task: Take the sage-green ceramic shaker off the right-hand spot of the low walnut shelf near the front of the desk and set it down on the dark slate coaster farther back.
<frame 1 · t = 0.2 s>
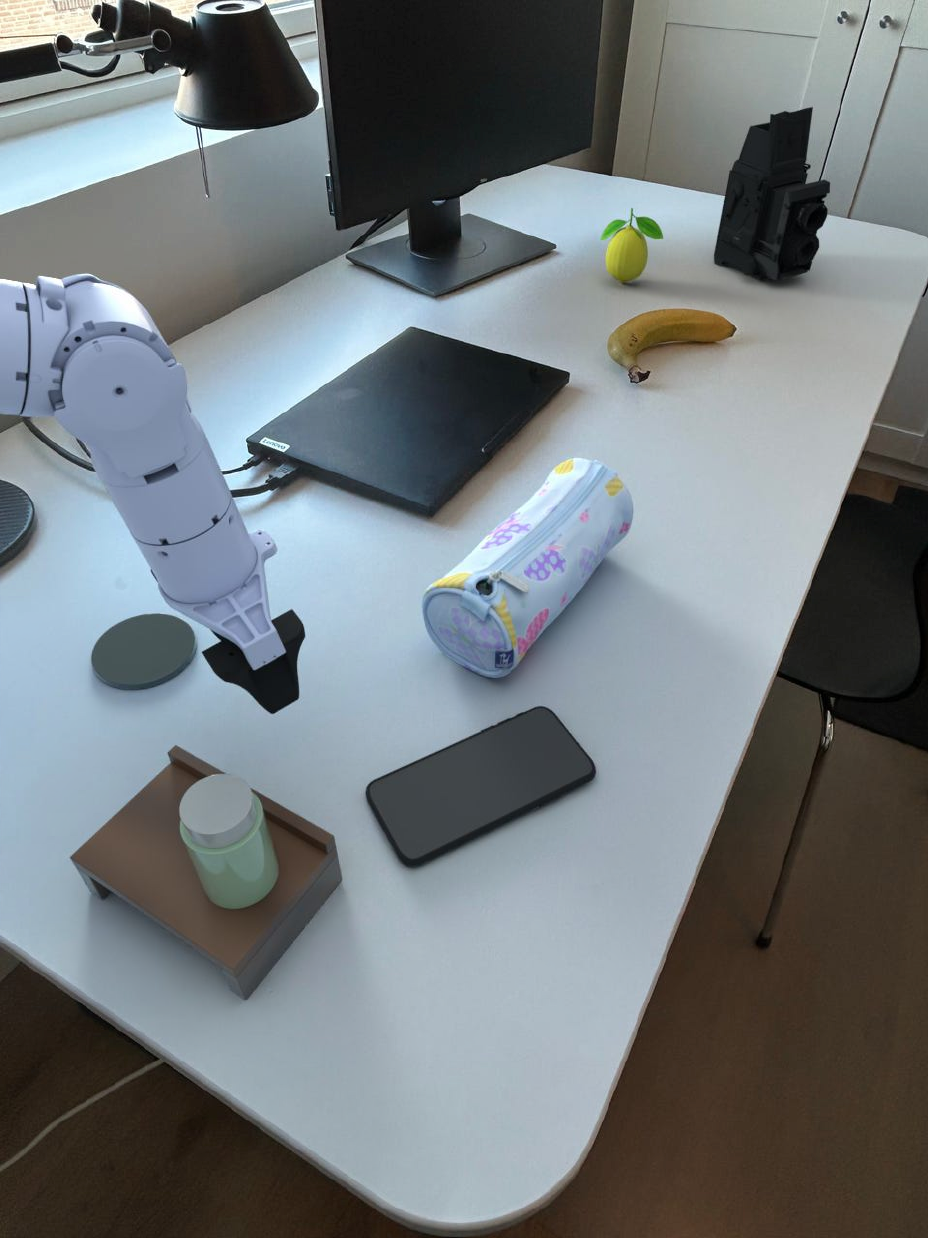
hand: (258, 667, 58), 8 cm above the table, tool pointing down, fingers open, 7 cm apart
shaker: (241, 874, 51), point 4 cm above the table, touching shelf
shelf: (216, 885, 55), on the table
lemon: (624, 284, 121), on the table
smartphone: (481, 786, 60), on the table
pencil case: (529, 605, 74), on the table
camera: (763, 273, 124), on the table
coaster: (145, 652, 70), on the table
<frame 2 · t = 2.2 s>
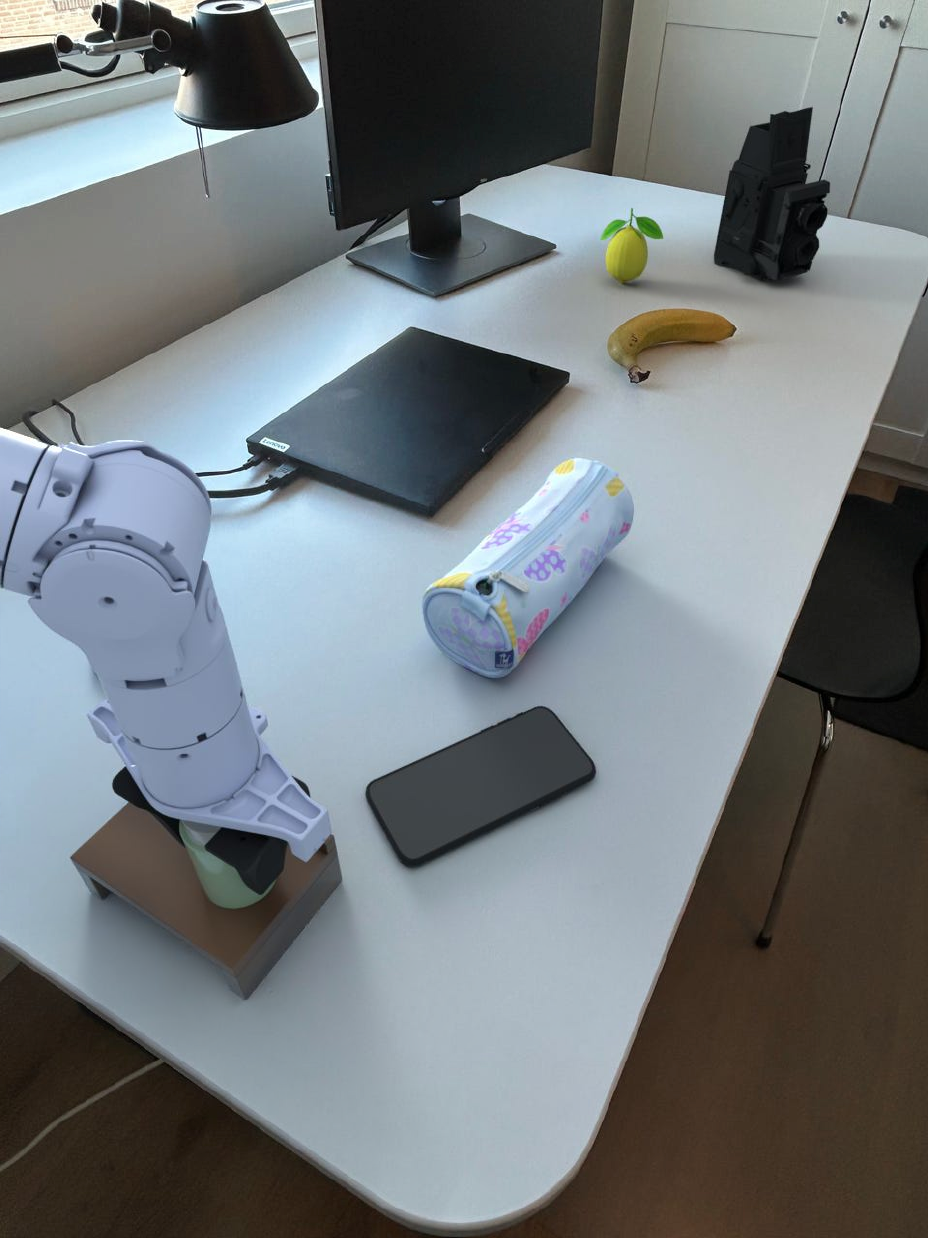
hand: (235, 858, 50), 6 cm above the table, tool pointing down, fingers closed on shaker, 4 cm apart
shaker: (240, 874, 51), point 4 cm above the table, touching gripper, shelf
everything else where it was.
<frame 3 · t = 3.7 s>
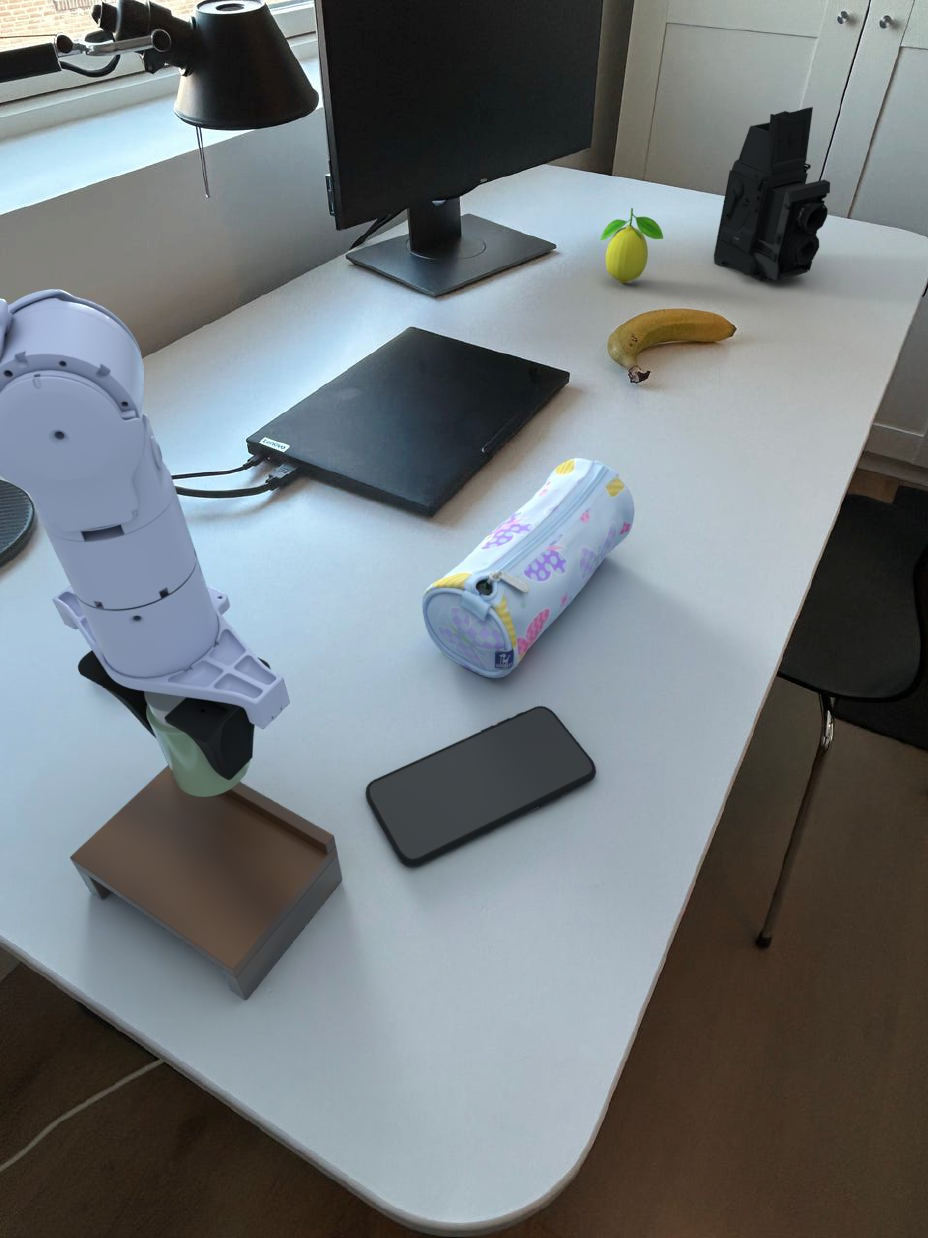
hand: (205, 748, 51), 10 cm above the table, tool pointing down, fingers closed on shaker, 4 cm apart
shaker: (212, 766, 52), point 8 cm above the table, touching gripper
everything else where it was.
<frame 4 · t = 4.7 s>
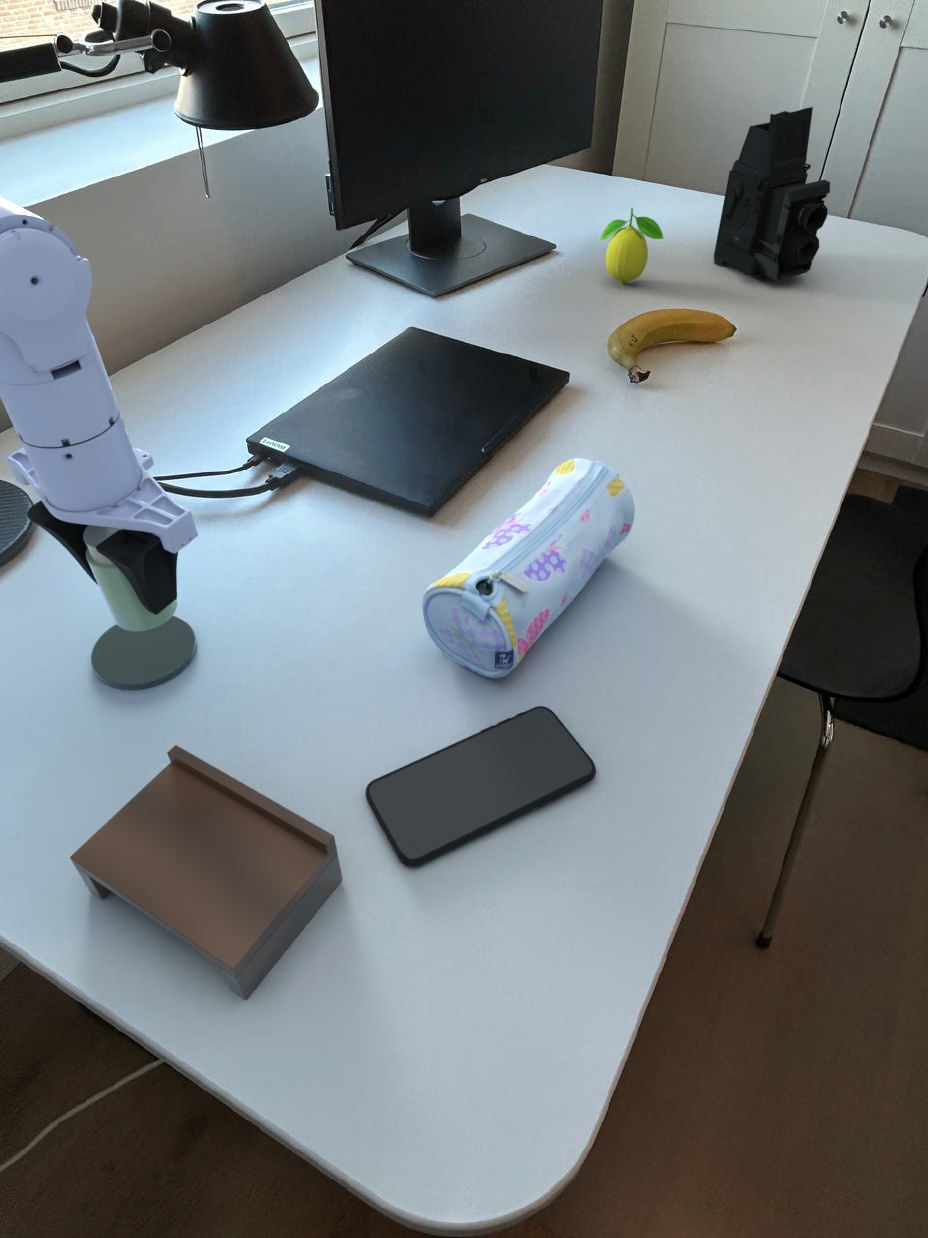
hand: (138, 592, 60), 10 cm above the table, tool pointing down, fingers closed on shaker, 4 cm apart
shaker: (145, 609, 62), point 8 cm above the table, touching gripper
everything else where it was.
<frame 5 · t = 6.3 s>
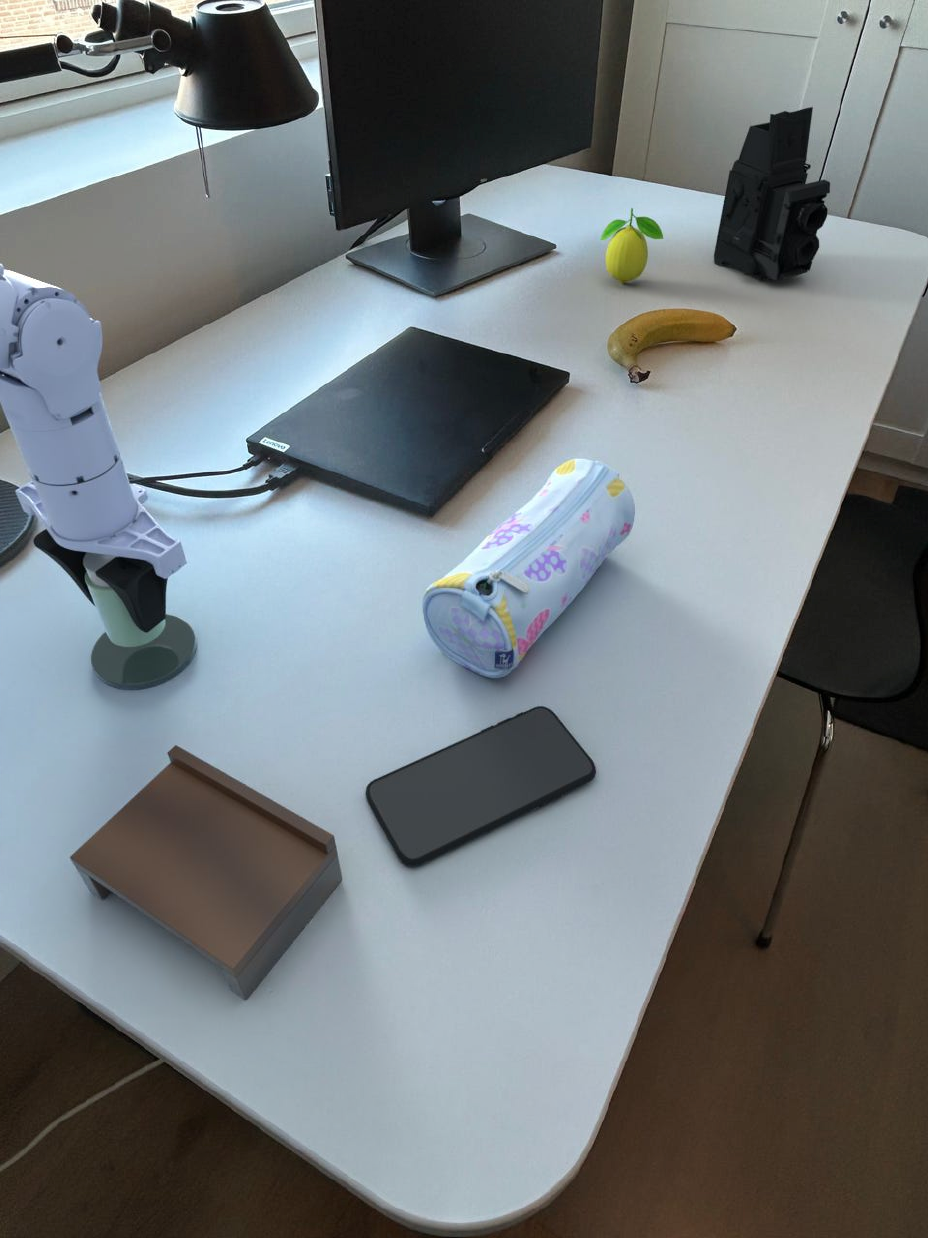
hand: (130, 612, 67), 4 cm above the table, tool pointing down, fingers closed on shaker, 4 cm apart
shaker: (136, 627, 68), point 3 cm above the table, touching gripper
everything else where it was.
when the fingers open (2 cm above the table, at t = 7.4 s): shaker stays where it is, resting on coaster.
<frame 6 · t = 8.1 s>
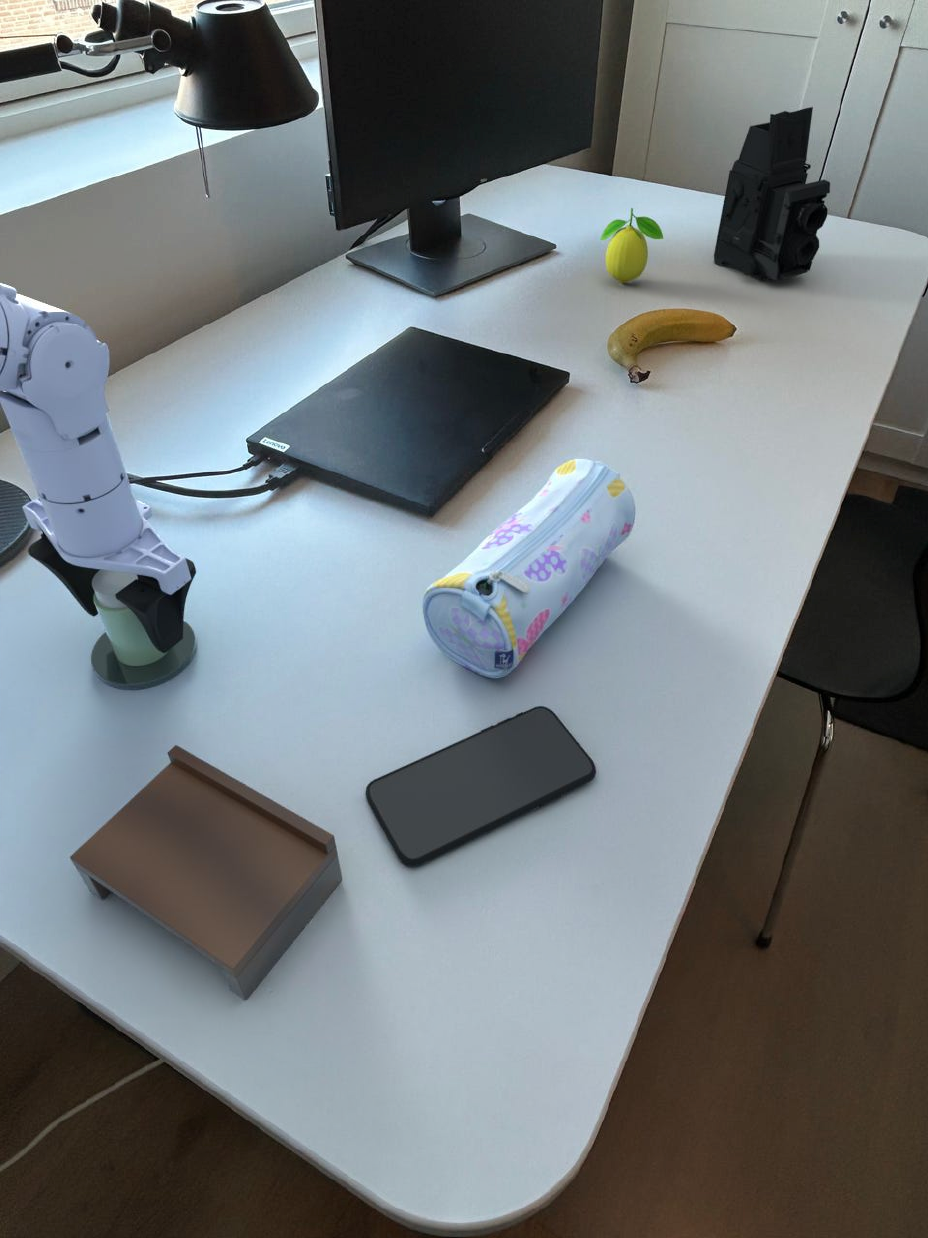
hand: (135, 625, 68), 3 cm above the table, tool pointing down, fingers open, 7 cm apart
shaker: (143, 646, 70), point 1 cm above the table, touching coaster
everything else where it was.
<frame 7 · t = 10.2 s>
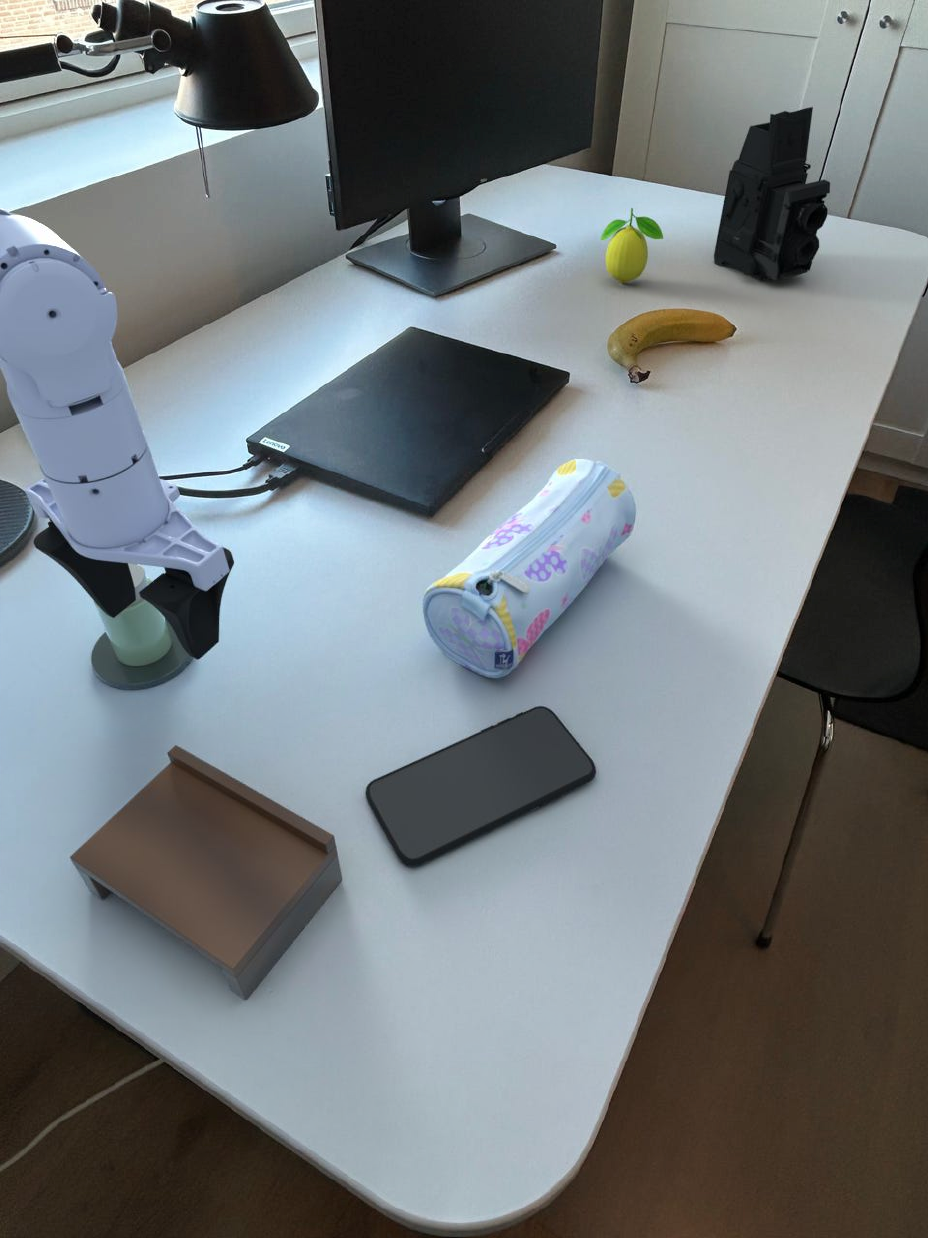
hand: (162, 627, 58), 10 cm above the table, tool pointing down, fingers open, 7 cm apart
nothing on the table moved.
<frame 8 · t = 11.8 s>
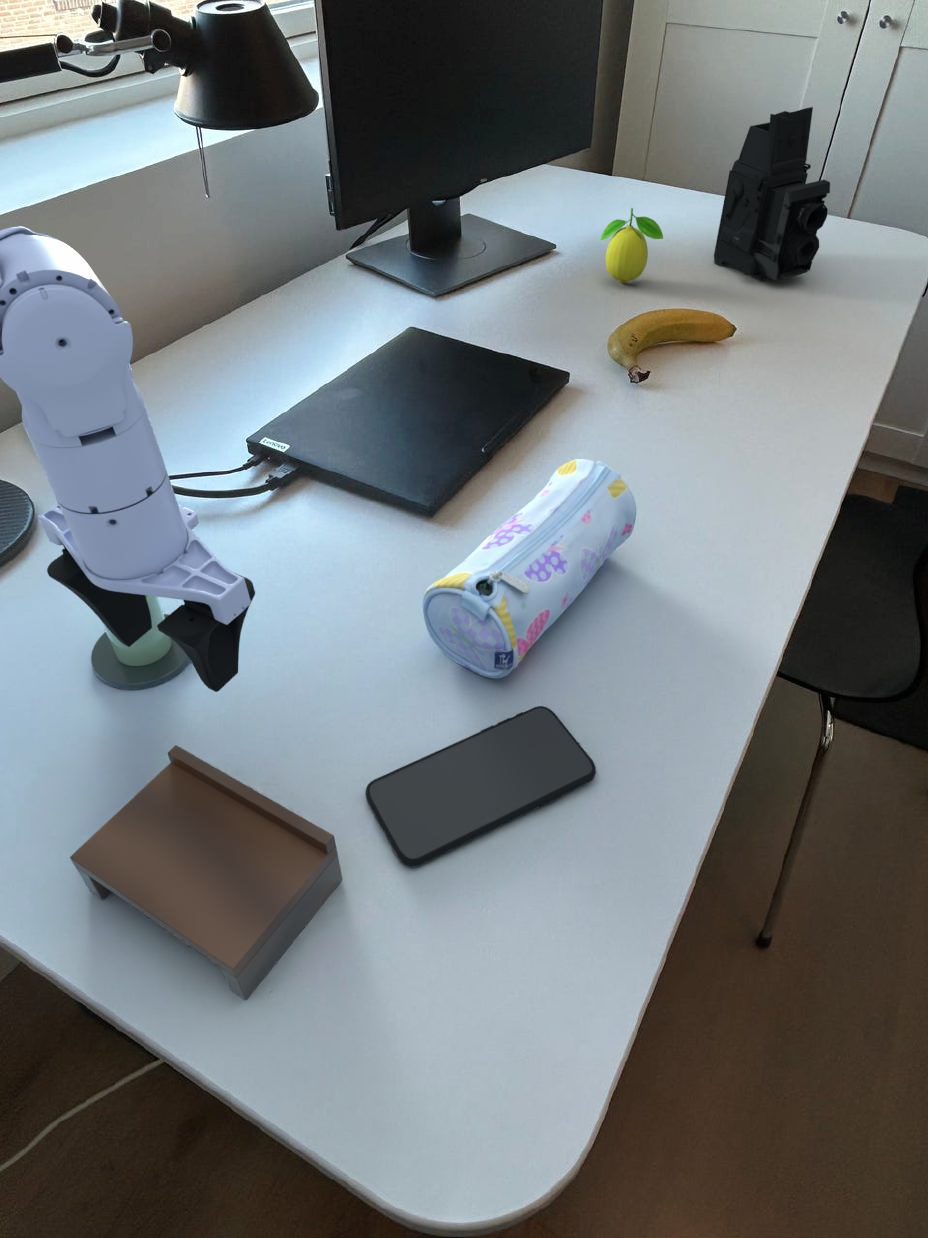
hand: (179, 657, 56), 10 cm above the table, tool pointing down, fingers open, 7 cm apart
nothing on the table moved.
at the end: shaker 0.1 cm off-centre on the coaster, point 0.6 cm above the coaster's base; shaker tilted 0°; shaker touching coaster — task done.
